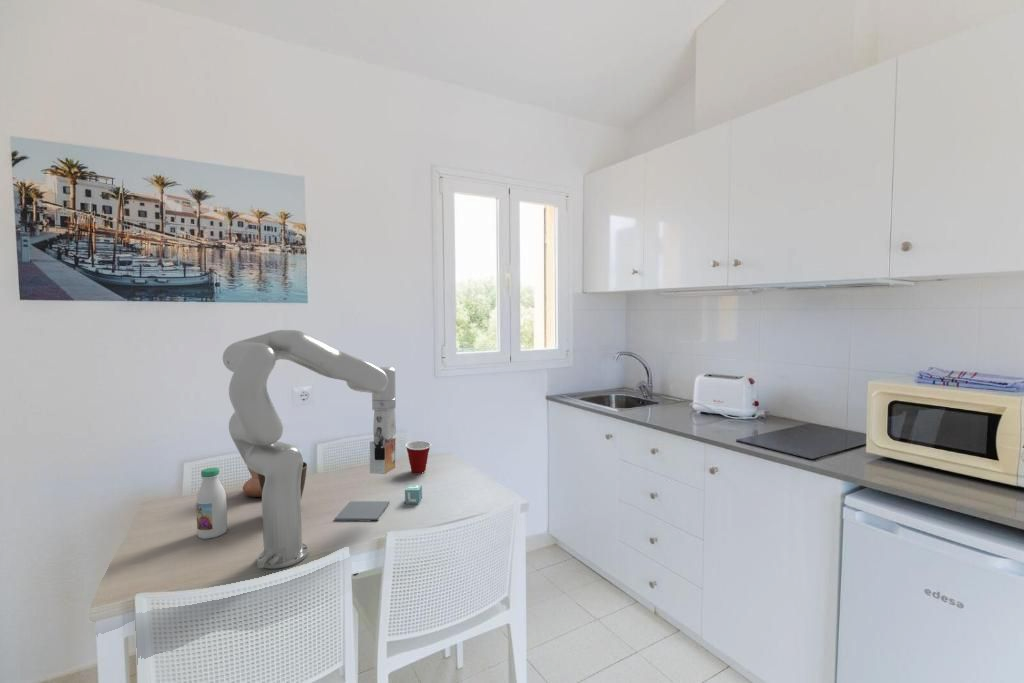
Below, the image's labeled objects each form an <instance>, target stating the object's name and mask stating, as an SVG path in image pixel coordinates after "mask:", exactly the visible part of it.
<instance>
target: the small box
mask: <svg viewBox="0 0 1024 683" xmlns="http://www.w3.org/2000/svg"><path fill="white" fill-rule="evenodd" d="M380 442H381V444H382V441H380ZM374 445H375V444H374V440H371V441H369V473H370V474H376V475H386V474H388V473H389V472H390V471H392V470H394V469H395V468H396V437H394V436H393V437H392V438H391V439H389V440H386V439H385V443H384V448H385V459H384V460H375V448H374Z"/></svg>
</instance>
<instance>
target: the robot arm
mask: <svg viewBox="0 0 1024 683" xmlns="http://www.w3.org/2000/svg"><path fill="white" fill-rule="evenodd" d="M278 360H285V361H290V362H291V363H292V362H293V363H294V364H297V365H298V366H301V367H304V368H306V369H308V370H310V371H313V372H315V373H316V374H319V375H320V376H323V377H325V378H326V377H327V378H329V379H335V380H340V381H345V383H346V385H347V387H348V388H349V389H351V390H353V391H356V392H360V393H366V394H367V393H368V394H371V407H372V408H371V409H372V410H373V412H374V413H373V427H372V428H373V430H372V431H373V441H374V444H375V445H374V448H375V460H384V459H385V448H384V443H385V439H386V440H389V439H391V438H392V437H394V436H396V434H397V425H396V424H397V423H396V422H397V420H396V411H395V409H396V407H397V406H396V403H397V402H396V401H397V400H396V369H395V368H394V367H392V366H375V365H374V364H372V363H369V362H367V361H365V360H363V359H360V358H358V357H355V356H352V355H350V354H348V353H345V352H343V351H340V350H338V349H336V348H334V347H332V346H330V345H328V344H326V343H324V342H322V341H321V340H318V339H317V338H315V337H313V336H311V335H309V334H307V333H305V332H303V331H300V330H295V329H278V330H274V331H270V332H267V333H264V334H259V335H256V336H252V337H249V338H246V339H241V340H238V341H234V342H233V343H231V344H229V346H227V347H226V348H225V350H224V352H223V354H222V363H223V365H224V367H225V368H226V369H227V370H228V371H231V372H232V376H231V378H230V382H229V386H228V396H229V400H230V403H231V406H232V408H233V410H234V412H233V413H232V415H231V416H230V419H229V420H228V431H229V434H230V435H229V436H230V437H231V439H232V441H233V443H234V445H235V447H236V449H237V450H238V452H239V455H240V457H241V458H242V460H243V462H244V463H245V465H246V467H247V466H248V467H249V468H250V469H251V470H252V471H254V472H256V473H259V474H261V475H264V476H265V483H264V487H263V491H262V497H261V507H262V509H261V510H262V512H261V513H262V535H263V536H262V537H263V551H262V552H261V553H260V554H259V555H258V556H257V561H256V562H257V563H256V567H257V568H258V569H264V568H265V569H272V570H274V569H275V570H276V569H282V568H287V567H290V566H293V565H295V564H297V563H300V562H301V561H303V560H304V559H306V557H307V556H308V555H309V547H308V545H307V544H305V543H303V528H302V526H303V525H302V524H303V523H302V498H301V493H300V485H301V474H302V468H303V462H304V458H303V455H302V453H301V451H300V450H299V449H298V448H297V447H296V446H294V445H292V444H289V443H287V442H286V443H285V442H283V441H279V440H280V439H281V438H282V435H283V432H284V426H283V425H284V424H283V423H282V420H281V418H280V416H279V414H278V412H277V410H276V407H275V406H274V404H273V402H272V400H271V397H270V395H269V392H268V388H267V385H268V384H267V383H268V379H269V376H270V374H271V373H272V371H273V370H274V368H275V365H276V362H277V361H278ZM380 441H382V444H381V442H380Z"/></svg>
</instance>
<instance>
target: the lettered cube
mask: <svg viewBox="0 0 1024 683" xmlns="http://www.w3.org/2000/svg"><path fill="white" fill-rule="evenodd" d="M421 499H423V485H422V484H407V486H406V488H405V489H404V504H405V503H419V504H420V503H421V501H422V500H421Z"/></svg>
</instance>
